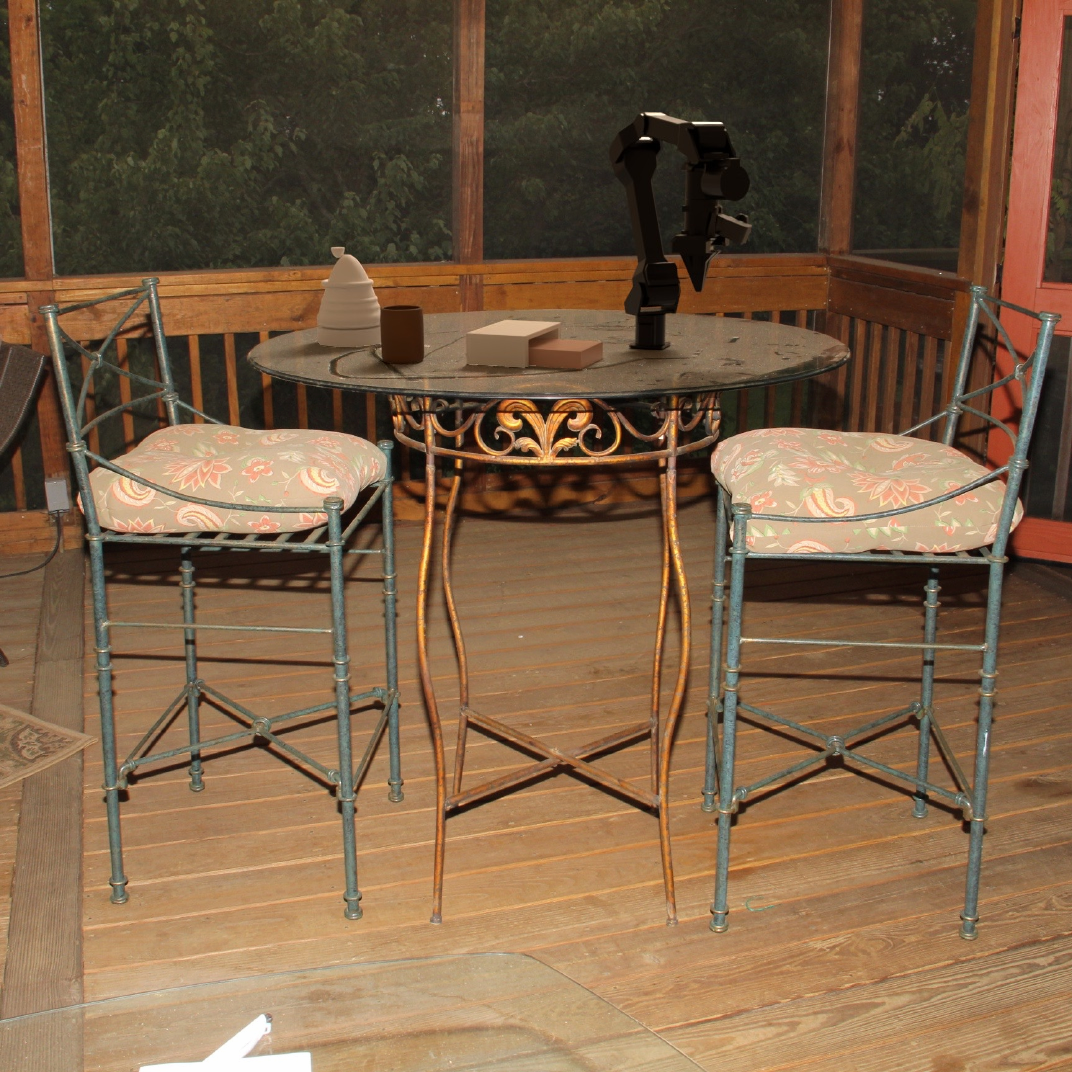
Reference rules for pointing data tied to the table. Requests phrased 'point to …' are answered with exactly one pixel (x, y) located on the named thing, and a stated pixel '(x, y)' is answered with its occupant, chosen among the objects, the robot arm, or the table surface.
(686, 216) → the robot arm
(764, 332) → the table surface
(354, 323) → the honey pot
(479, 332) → the bridge
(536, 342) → the block
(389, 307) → the mug
